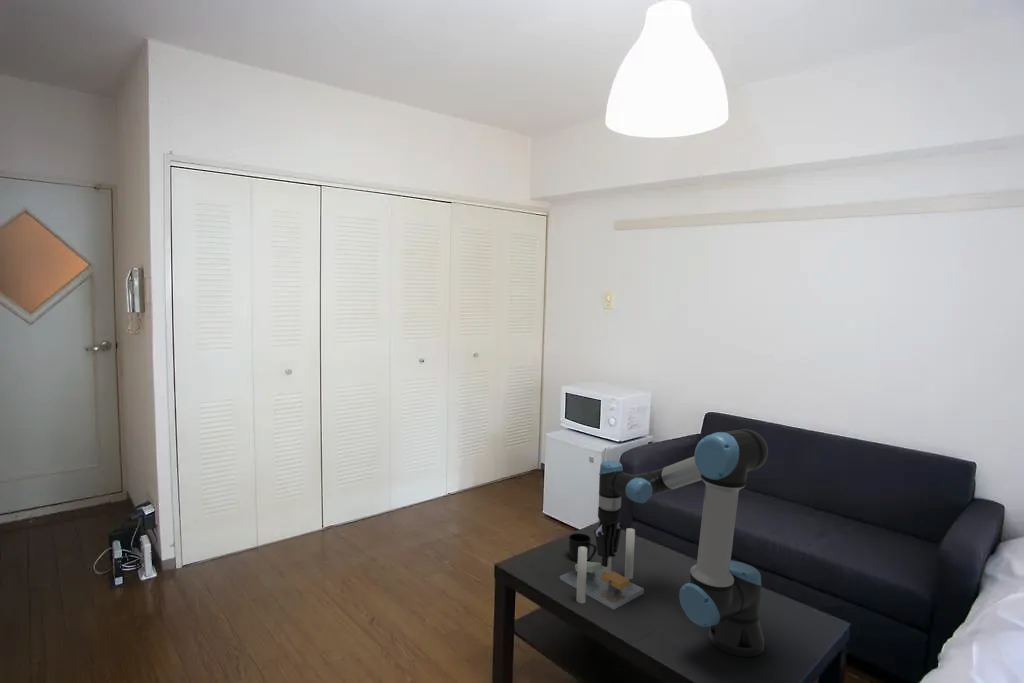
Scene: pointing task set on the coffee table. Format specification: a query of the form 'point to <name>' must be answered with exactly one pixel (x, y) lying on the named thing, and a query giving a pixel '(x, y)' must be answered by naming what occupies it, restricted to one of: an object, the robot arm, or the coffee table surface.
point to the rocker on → (591, 566)
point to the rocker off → (615, 580)
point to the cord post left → (581, 574)
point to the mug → (578, 541)
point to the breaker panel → (604, 589)
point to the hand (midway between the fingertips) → (606, 574)
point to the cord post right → (629, 553)
